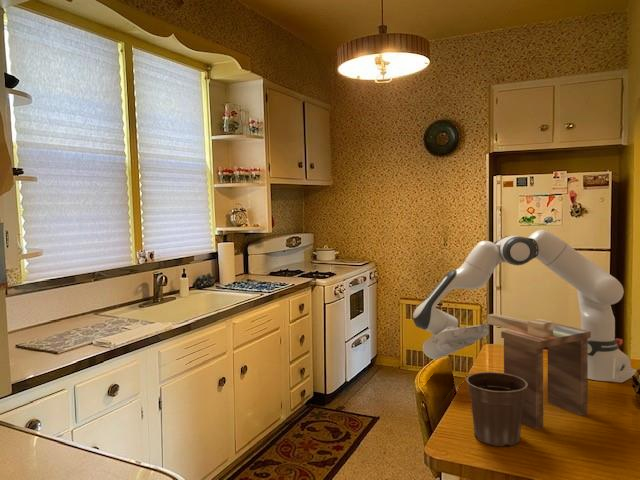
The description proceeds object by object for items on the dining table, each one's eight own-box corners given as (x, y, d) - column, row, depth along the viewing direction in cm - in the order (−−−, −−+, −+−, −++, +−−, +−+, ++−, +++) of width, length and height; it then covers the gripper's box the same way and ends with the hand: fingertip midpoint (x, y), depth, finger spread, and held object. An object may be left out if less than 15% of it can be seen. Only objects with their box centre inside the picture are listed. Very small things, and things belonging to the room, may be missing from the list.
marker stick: (495, 322, 163) (495, 310, 163) (553, 335, 145) (553, 321, 145) (485, 324, 161) (485, 312, 160) (542, 337, 143) (542, 324, 142)
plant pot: (474, 420, 149) (473, 368, 148) (531, 430, 141) (531, 376, 140) (460, 443, 135) (459, 385, 134) (523, 456, 127) (522, 395, 126)
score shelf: (551, 399, 162) (551, 322, 161) (590, 415, 150) (590, 331, 148) (501, 413, 153) (501, 331, 152) (538, 430, 140) (538, 341, 139)
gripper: (426, 334, 177) (448, 322, 166) (470, 327, 186) (494, 315, 174) (432, 351, 175) (454, 340, 163) (476, 343, 183) (500, 332, 172)
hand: (475, 327), depth 169 cm, fingers open, 8 cm apart
